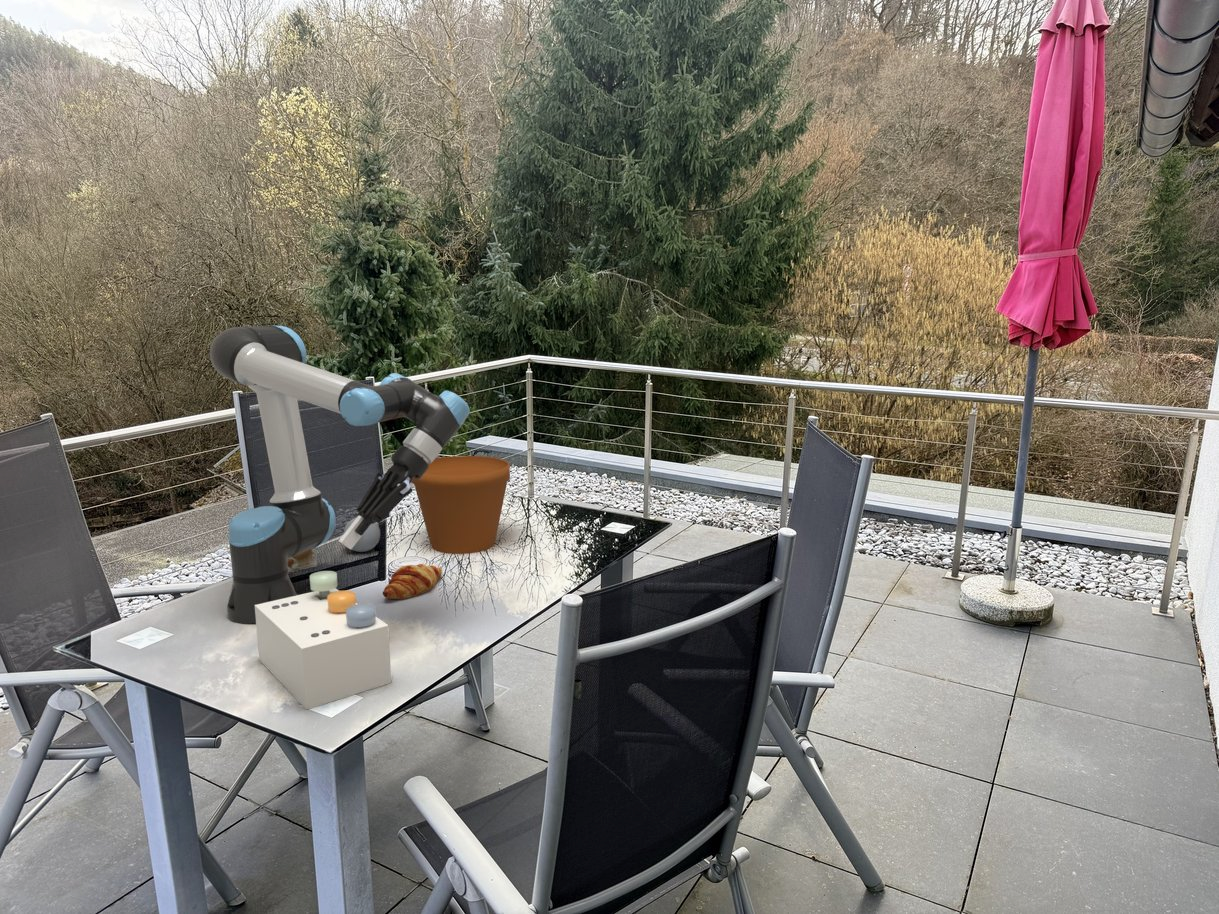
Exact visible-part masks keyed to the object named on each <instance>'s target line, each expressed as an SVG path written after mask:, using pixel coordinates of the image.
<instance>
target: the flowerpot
mask: <svg viewBox="0 0 1219 914" xmlns="http://www.w3.org/2000/svg"><path fill="white" fill-rule="evenodd" d="M428 465H429V466H428V467H429V468H428V469H427V470H426V472H425V473H424V474H423V475H422V477H421V478H420V479H415V478H413V479H412V482H411V484H413V485H414V489H415V492H416V496H417V499H418V504H419V506H420V510H421V514H422V515H421V516H422V519H423V521H424V526H425V529H426V534H427V537H428V540H429V543H430V548H431V549H432V550H434V551H436V552H439V553H443V554H448V555H449V554H450V555H451V554H452V555H467V554H475V553H479V552H480V553H481V552H483V551H488V550H489V549H491V548H493V547H494V546H495V544H496V539H497V534H498V529H499V525H500V519H501V514H502V510H503V505H504V500H505V493H506V489H507V486H508V485H507V484H508V481H509V480H510V478H511V471H510V470H511V467H510V466H511V464H510V462H509V461H507V460H505V459H501V458H497V457H494V456H493V457H492V456H482V455H481V456H479V455H456V456H455V455H452V456H442V457H441V456H439V457H437V458H435V460H434V461H433V462H432V463H430V464H429V463H428Z"/></svg>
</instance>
